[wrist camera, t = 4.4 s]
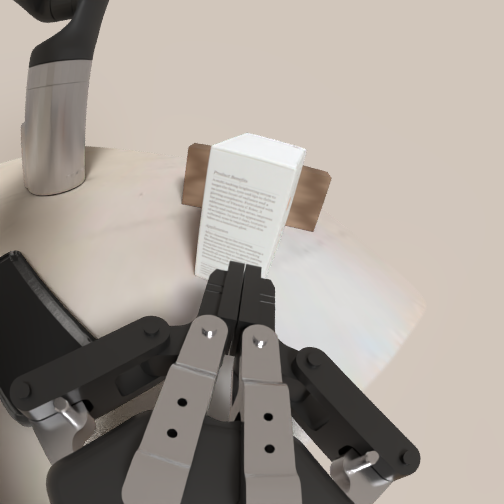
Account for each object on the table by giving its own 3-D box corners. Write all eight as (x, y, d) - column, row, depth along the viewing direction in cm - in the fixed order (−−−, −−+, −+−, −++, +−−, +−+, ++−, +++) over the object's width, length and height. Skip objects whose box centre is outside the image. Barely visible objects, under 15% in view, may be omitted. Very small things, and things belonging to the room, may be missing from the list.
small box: (226, 232, 28) (246, 131, 22) (278, 249, 27) (308, 148, 22) (191, 276, 21) (208, 143, 16) (258, 300, 21) (297, 166, 15)
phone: (17, 247, 17) (108, 350, 13) (20, 257, 18) (112, 360, 14) (-45, 286, 11) (17, 430, 7) (-40, 296, 12) (27, 437, 7)
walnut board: (182, 203, 31) (188, 146, 28) (187, 196, 33) (194, 143, 30) (313, 231, 32) (331, 178, 28) (310, 222, 34) (327, 172, 30)
